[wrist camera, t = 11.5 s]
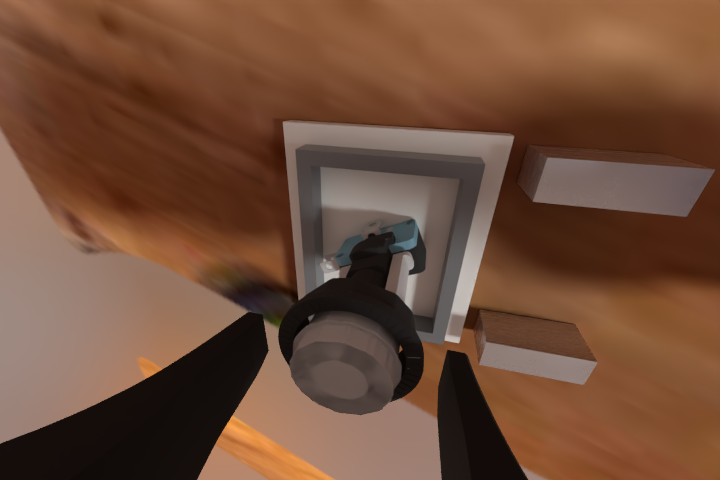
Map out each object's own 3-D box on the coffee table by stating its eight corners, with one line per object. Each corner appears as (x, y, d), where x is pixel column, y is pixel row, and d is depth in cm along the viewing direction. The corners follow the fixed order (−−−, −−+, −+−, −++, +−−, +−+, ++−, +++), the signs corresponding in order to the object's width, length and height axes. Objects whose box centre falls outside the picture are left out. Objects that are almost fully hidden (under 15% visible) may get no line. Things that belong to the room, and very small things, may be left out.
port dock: (509, 133, 15) (522, 141, 13) (457, 332, 22) (460, 360, 19) (290, 119, 17) (269, 125, 15) (304, 305, 24) (291, 327, 22)
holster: (663, 153, 14) (715, 169, 11) (564, 346, 20) (583, 384, 18) (528, 144, 15) (547, 157, 12) (473, 330, 21) (479, 364, 19)
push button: (344, 286, 21) (281, 432, 12) (311, 220, 19) (207, 337, 10) (438, 266, 18) (443, 429, 10) (411, 187, 16) (386, 304, 8)
